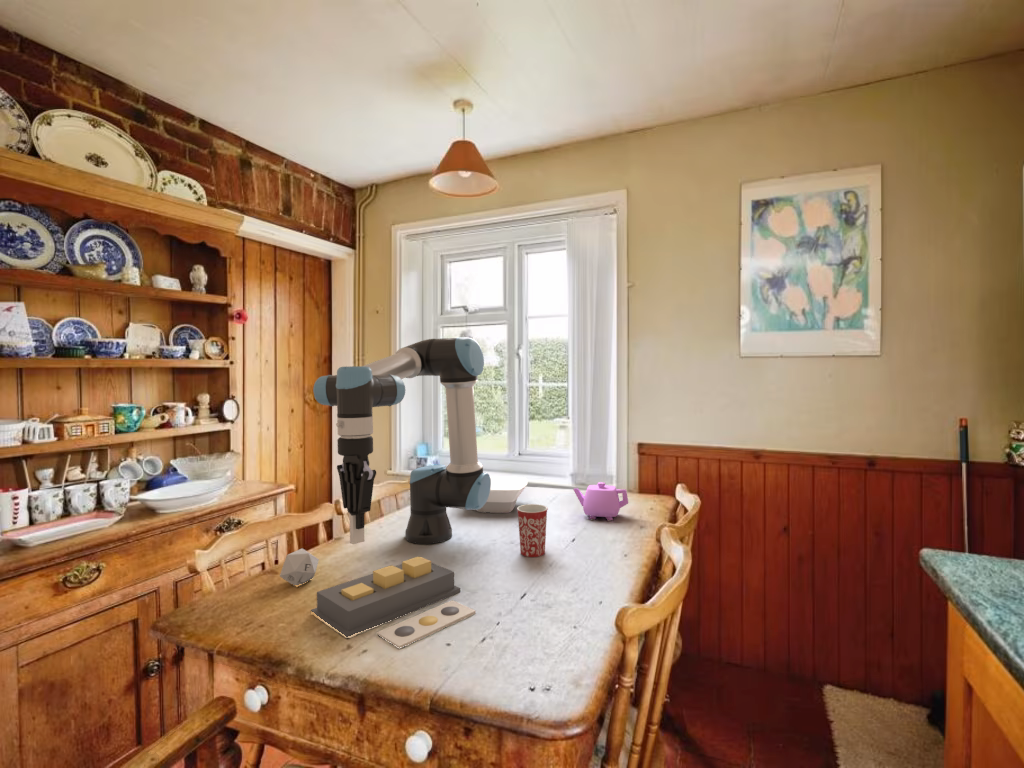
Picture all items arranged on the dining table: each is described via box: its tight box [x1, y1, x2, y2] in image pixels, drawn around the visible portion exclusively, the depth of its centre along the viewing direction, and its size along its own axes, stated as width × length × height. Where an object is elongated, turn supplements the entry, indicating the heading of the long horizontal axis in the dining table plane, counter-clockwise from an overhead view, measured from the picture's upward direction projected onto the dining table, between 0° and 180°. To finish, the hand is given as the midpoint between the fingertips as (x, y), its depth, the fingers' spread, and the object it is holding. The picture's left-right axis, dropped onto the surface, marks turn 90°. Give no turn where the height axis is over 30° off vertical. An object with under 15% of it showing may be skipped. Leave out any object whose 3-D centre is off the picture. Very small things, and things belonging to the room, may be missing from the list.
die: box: [279, 547, 320, 586], centre depth 131 cm, size 8×9×10 cm
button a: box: [341, 583, 374, 601], centre depth 113 cm, size 5×5×4 cm
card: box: [376, 599, 477, 648], centre depth 108 cm, size 8×20×1 cm, turn 137°
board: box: [310, 562, 461, 637], centre depth 119 cm, size 16×30×5 cm, turn 137°
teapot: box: [573, 481, 629, 521], centre depth 188 cm, size 20×12×13 cm, turn 75°
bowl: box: [476, 476, 528, 514], centre depth 202 cm, size 24×25×10 cm
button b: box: [372, 564, 404, 589], centre depth 119 cm, size 5×5×4 cm
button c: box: [401, 556, 432, 578], centre depth 124 cm, size 5×5×4 cm
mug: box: [516, 503, 549, 558], centre depth 152 cm, size 13×9×14 cm
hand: (357, 542), depth 113 cm, fingers closed
